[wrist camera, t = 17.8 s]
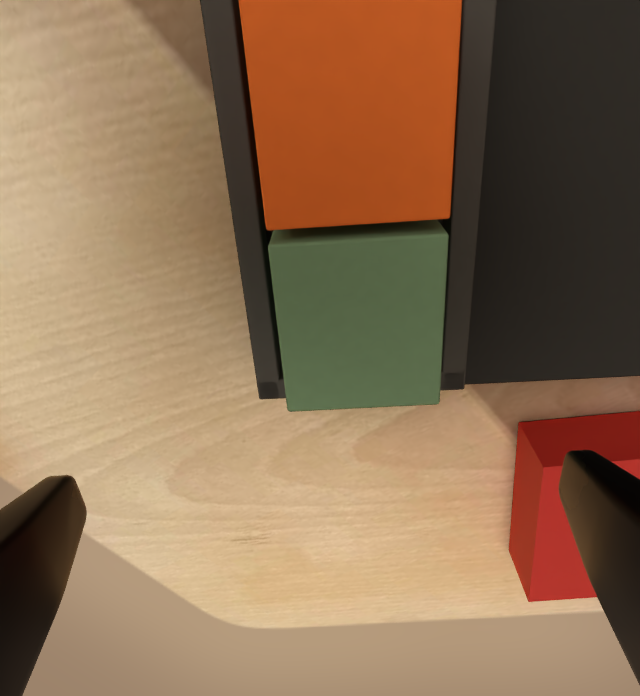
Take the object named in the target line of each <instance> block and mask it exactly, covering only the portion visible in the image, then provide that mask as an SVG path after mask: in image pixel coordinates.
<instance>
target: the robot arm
mask: <svg viewBox="0 0 640 696" xmlns="http://www.w3.org/2000/svg"><path fill="white" fill-rule="evenodd" d="M559 496H560V499H561V502H562V505H563V508H564V511H565V514H566V516H567V519H568V522H569V525H570V528H571V530H572V533H573V536H574V539H575V542H576V545H577V547H578V550H579V553H580V556H581V559H582V562H583V564H584V567H585V570H586V572H587V575H588V577H589V580H590V582H591V584H592V586H593V589H594V591H595V593H596V595H597V597H598V599H599V601H600V604H601V606H602V608H603V610H604V612H605V614H606V616H607V618H608V620H609V622H610V624H611V626H612V628H613V631H614V632H615V635H616V637H617V639H618V641H619V643H620V645H621V647H622V649H623V651H624V653H625V656H626V658H627V660H628V662H629V664H630V666H631V668H632V670H633V672H634V674H635V676H636V678H637V681H638V683H639V685H640V479H639V478H637V477H635V476H634V475H632V474H630V473H629V472H627V471H626V470H624V469H622V468H621V467H619V466H617V465H616V464H614V463H613V462H611V461H609V460H608V459H606V458H604V457H603V456H601V455H600V454H598V453H596V452H594V451H592V450H572V451H569V452H567V453H566V455H565V458H564V462H563V467H562V471H561V476H560V481H559ZM86 515H87V511H86V506H85V503H84V501H83V498H82V496H81V493H80V491H79V488H78V486H77V483H76V481H75V479H74V478H73V477H72V476H69V475H62V476H50V477H47V478H45V479H44V480H42V481H41V482H39V483H38V484H37V485H35V486H34V487H32V488H31V489H29V490H28V491H26V492H25V493H24V494H22V495H21V496H19V497H18V498H16V499H15V500H14V501H12V502H11V503H9V504H8V505H6V506H5V507H3V508H2V509H1V510H0V696H22V695H23V693H24V690H25V688H26V685H27V683H28V681H29V678H30V676H31V673H32V671H33V669H34V666H35V664H36V661H37V659H38V656H39V654H40V652H41V649H42V647H43V644H44V642H45V639H46V637H47V635H48V632H49V630H50V627H51V625H52V622H53V620H54V618H55V615H56V613H57V610H58V608H59V605H60V602H61V600H62V597H63V594H64V591H65V588H66V585H67V581H68V578H69V575H70V571H71V568H72V565H73V561H74V558H75V555H76V551H77V548H78V544H79V541H80V538H81V534H82V531H83V528H84V524H85V521H86Z"/></svg>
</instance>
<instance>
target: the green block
mask: <svg viewBox="0 0 640 696" xmlns="http://www.w3.org/2000/svg"><path fill="white" fill-rule="evenodd" d="M448 240H449V236H448V233H447V232H446V231H445V229H444V228H443V227H442V225H441V224H440V223H439V222H438V220H422V221H406V222H391V223H376V224H360V225H345V226H330V227H314V228H299V229H284V230H274V231H273V234H272V237H271V240H270V243H269V246H268V252H269V260H270V269H271V277H272V285H273V294H274V302H275V310H276V319H277V327H278V335H279V344H280V352H281V360H282V369H283V377H284V385H285V394H286V402H287V409H288V411H290V412H292V411H312V410H332V409H352V408H372V407H393V406H413V405H433V404H439V402H440V385H441V367H442V349H443V331H444V312H445V294H446V276H447V258H448Z"/></svg>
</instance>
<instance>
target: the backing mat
mask: <svg viewBox="0 0 640 696" xmlns="http://www.w3.org/2000/svg"><path fill="white" fill-rule="evenodd" d="M200 4H201V10H202V17H203V24H204V30H205V37H206V44H207V51H208V57H209V64H210V71H211V77H212V84H213V91H214V98H215V104H216V111H217V118H218V124H219V131H220V138H221V145H222V151H223V158H224V165H225V171H226V178H227V185H228V192H229V198H230V205H231V212H232V218H233V225H234V232H235V239H236V245H237V252H238V259H239V265H240V272H241V279H242V286H243V292H244V299H245V306H246V312H247V319H248V326H249V333H250V339H251V346H252V353H253V359H254V366H255V373H256V380H257V387H258V393H259V398H260V399H277V398H286V394H285V385H284V377H283V369H282V360H281V352H280V344H279V335H278V327H277V319H276V310H275V302H274V294H273V285H272V277H271V269H270V260H269V252H268V246H269V243H270V240H271V237H272V234H273V231H274V230H267V229H266V224H265V216H264V208H263V200H262V191H261V183H260V175H259V166H258V158H257V150H256V141H255V133H254V125H253V117H252V108H251V100H250V92H249V83H248V75H247V67H246V58H245V50H244V42H243V33H242V25H241V17H240V9H239V0H200ZM437 220H438V222H439V223H440V224H441V225H442V227H443V228H444V229H445V231H446V232H447V233H448V236H449V240H448V258H447V276H446V294H445V312H444V331H443V349H442V367H441V385H440V390H459V389H464V385H465V384H484V383H504V382H524V381H544V380H565V379H585V378H605V377H625V376H640V0H462V12H461V30H460V48H459V66H458V85H457V103H456V121H455V139H454V157H453V176H452V194H451V212H450V217H449V218H448V219H437Z"/></svg>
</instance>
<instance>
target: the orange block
mask: <svg viewBox="0 0 640 696" xmlns="http://www.w3.org/2000/svg"><path fill="white" fill-rule="evenodd" d="M239 9H240V17H241V25H242V33H243V42H244V50H245V58H246V67H247V75H248V83H249V92H250V100H251V108H252V117H253V125H254V133H255V141H256V150H257V158H258V166H259V175H260V183H261V191H262V200H263V208H264V216H265V224H266V229H267V230H284V229H299V228H314V227H330V226H345V225H360V224H376V223H391V222H406V221H422V220H437V219H448V218H449V217H450V212H451V194H452V176H453V157H454V139H455V121H456V103H457V85H458V66H459V48H460V30H461V12H462V0H239Z"/></svg>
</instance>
